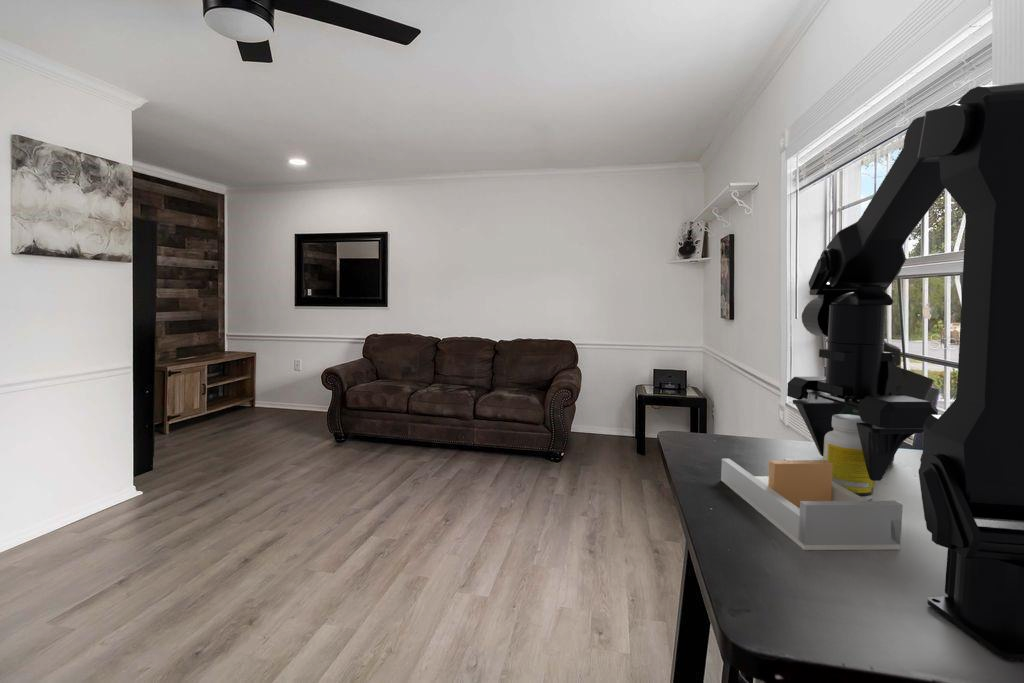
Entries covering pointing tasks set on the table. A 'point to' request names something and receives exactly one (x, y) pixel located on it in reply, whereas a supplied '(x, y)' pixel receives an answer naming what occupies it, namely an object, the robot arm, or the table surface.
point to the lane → (821, 514)
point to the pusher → (801, 479)
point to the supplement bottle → (847, 456)
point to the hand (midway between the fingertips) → (848, 467)
